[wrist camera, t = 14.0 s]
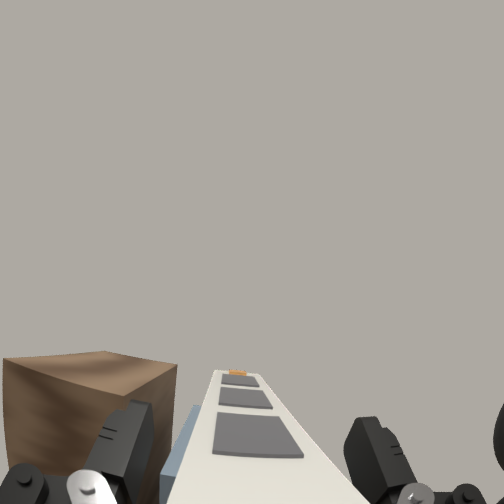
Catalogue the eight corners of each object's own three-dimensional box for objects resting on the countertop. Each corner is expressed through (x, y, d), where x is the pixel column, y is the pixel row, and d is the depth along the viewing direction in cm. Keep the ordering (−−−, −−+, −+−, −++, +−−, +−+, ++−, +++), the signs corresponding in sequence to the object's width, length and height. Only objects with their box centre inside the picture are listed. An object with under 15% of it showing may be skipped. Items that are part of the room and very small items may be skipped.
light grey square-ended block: (255, 411, 29) (259, 371, 30) (335, 602, 4) (375, 497, 5) (211, 407, 29) (215, 367, 30) (168, 603, 4) (165, 496, 5)
